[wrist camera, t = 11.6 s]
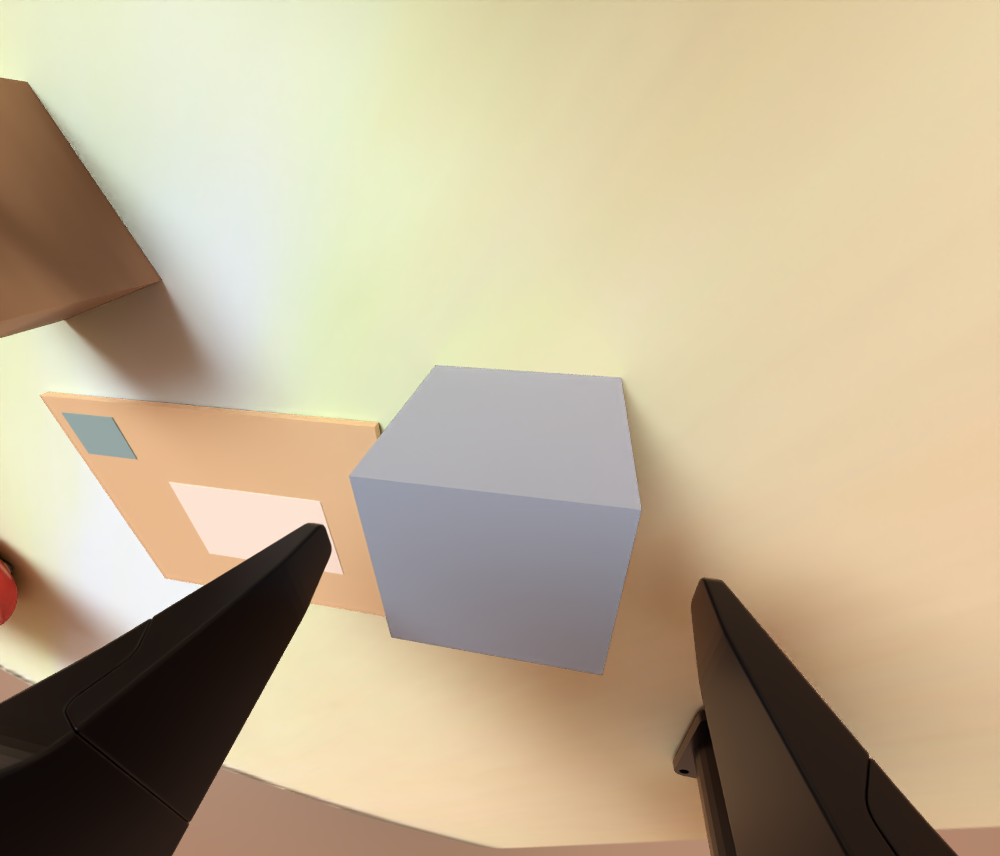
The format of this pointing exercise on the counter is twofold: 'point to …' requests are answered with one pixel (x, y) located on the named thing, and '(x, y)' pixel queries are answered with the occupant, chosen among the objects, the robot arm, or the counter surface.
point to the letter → (227, 485)
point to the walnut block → (55, 224)
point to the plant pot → (7, 592)
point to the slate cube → (503, 514)
